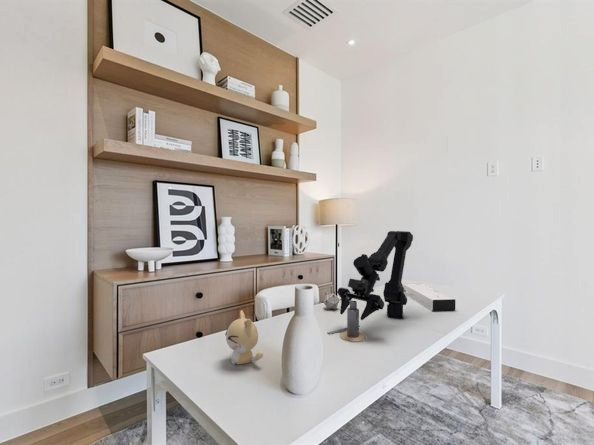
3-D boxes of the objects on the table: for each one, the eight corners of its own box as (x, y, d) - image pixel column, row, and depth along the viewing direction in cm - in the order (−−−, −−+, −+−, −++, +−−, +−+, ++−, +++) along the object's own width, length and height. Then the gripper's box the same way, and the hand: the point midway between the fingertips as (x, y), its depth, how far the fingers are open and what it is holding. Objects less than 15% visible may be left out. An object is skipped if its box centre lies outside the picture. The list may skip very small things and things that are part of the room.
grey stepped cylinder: (356, 332, 123) (357, 299, 123) (360, 337, 119) (360, 303, 118) (345, 333, 123) (345, 300, 122) (348, 338, 118) (349, 303, 118)
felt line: (357, 325, 132) (357, 324, 132) (359, 326, 131) (359, 325, 131) (327, 333, 124) (327, 332, 124) (329, 334, 122) (329, 333, 122)
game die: (334, 317, 154) (340, 304, 148) (318, 310, 155) (323, 297, 149) (338, 304, 161) (344, 291, 155) (323, 297, 162) (328, 284, 156)
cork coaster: (367, 333, 124) (367, 332, 124) (365, 343, 114) (365, 342, 114) (341, 330, 127) (341, 329, 127) (337, 340, 117) (337, 338, 117)
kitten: (221, 354, 105) (221, 309, 105) (250, 349, 109) (250, 306, 109) (231, 375, 92) (230, 324, 91) (264, 368, 96) (264, 319, 95)
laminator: (455, 312, 152) (455, 299, 151) (430, 312, 151) (430, 300, 150) (421, 294, 186) (421, 283, 185) (401, 294, 185) (401, 283, 184)
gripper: (339, 267, 129) (322, 299, 122) (380, 274, 116) (363, 310, 109) (350, 283, 135) (334, 315, 128) (391, 291, 122) (375, 327, 114)
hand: (350, 316), depth 119 cm, fingers open, 9 cm apart
